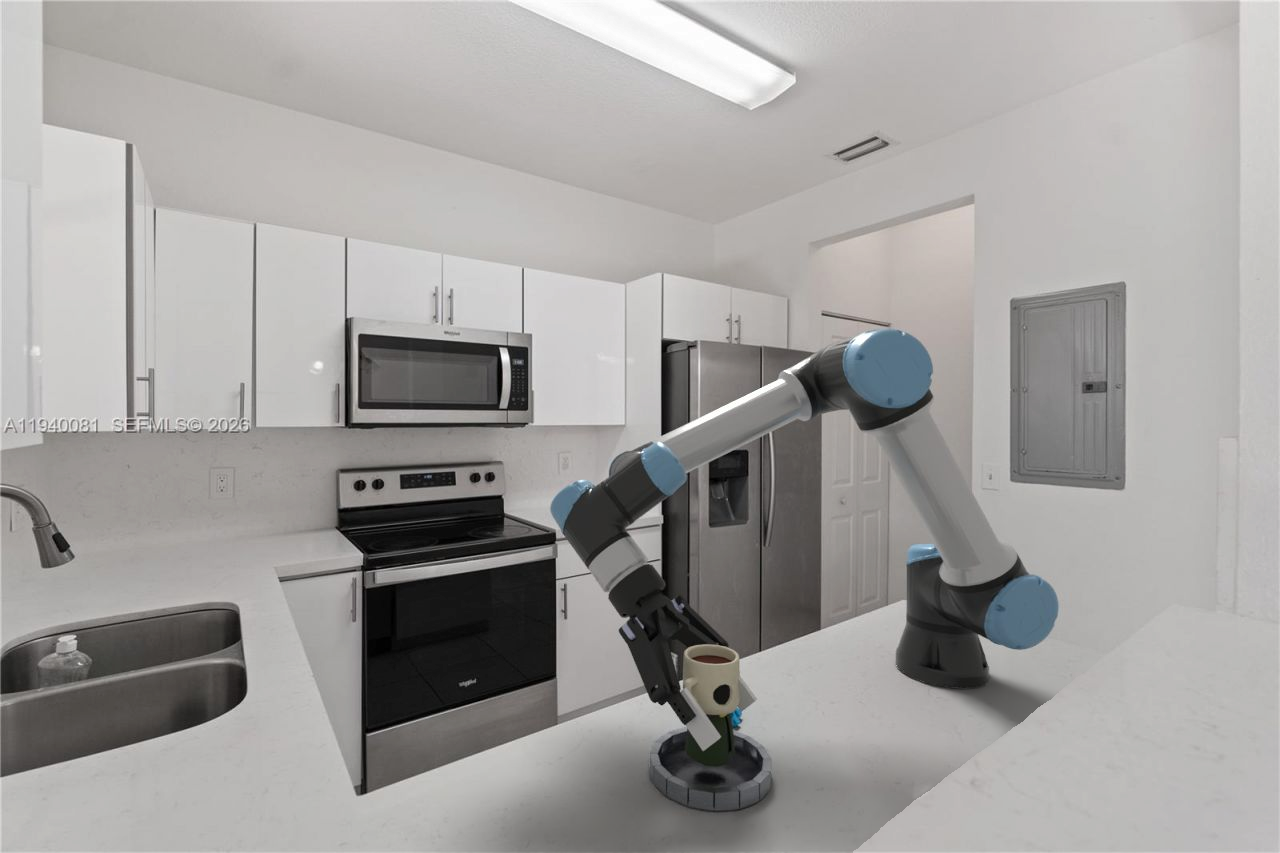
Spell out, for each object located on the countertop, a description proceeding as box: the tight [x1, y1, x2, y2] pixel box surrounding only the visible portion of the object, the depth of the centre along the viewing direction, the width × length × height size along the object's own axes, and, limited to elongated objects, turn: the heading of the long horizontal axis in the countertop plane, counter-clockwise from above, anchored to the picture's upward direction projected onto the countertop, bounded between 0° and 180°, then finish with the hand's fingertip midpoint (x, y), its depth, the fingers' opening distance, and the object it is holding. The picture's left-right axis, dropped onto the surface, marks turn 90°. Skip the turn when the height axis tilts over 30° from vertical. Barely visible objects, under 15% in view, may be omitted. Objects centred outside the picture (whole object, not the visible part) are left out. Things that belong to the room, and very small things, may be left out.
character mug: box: [682, 644, 741, 767], centre depth 75 cm, size 11×7×13 cm, turn 138°
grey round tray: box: [648, 726, 773, 813], centre depth 75 cm, size 15×15×2 cm
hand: (732, 723), depth 73 cm, fingers closed on character mug, 11 cm apart
